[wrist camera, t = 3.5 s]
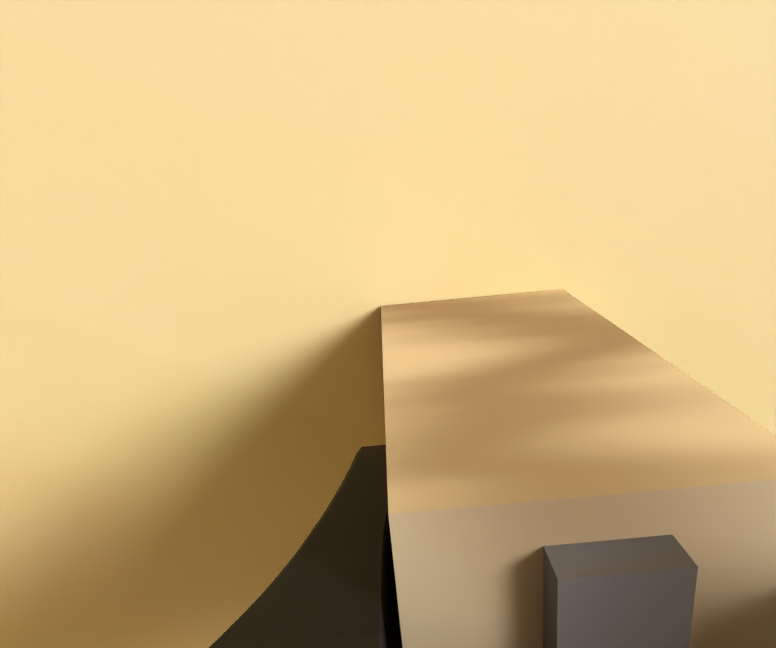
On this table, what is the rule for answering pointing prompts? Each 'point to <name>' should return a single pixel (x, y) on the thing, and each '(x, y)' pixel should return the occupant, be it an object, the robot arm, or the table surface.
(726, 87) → the table surface
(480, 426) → the keyed plug
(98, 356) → the table surface
